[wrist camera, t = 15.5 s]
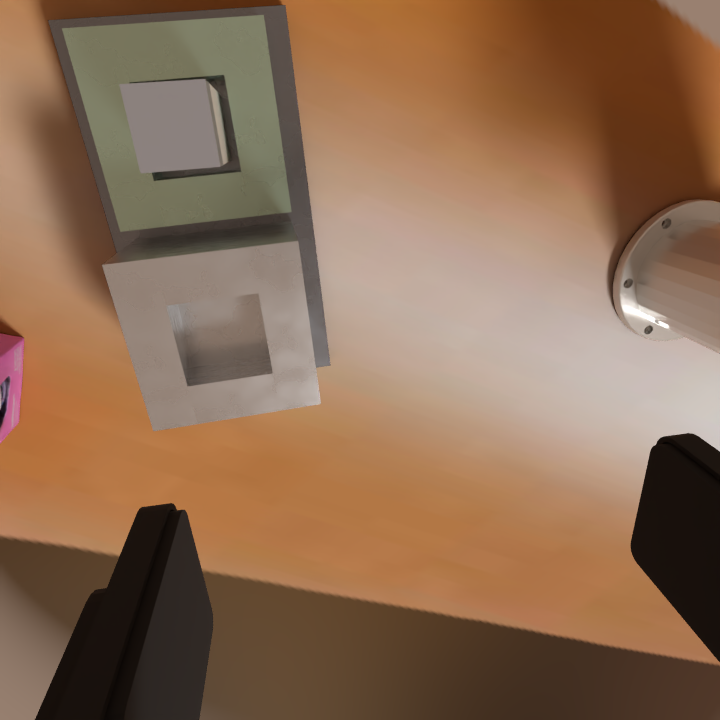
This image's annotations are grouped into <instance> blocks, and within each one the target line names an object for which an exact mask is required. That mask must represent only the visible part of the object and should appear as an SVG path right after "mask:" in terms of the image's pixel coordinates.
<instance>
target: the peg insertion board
mask: <svg viewBox="0 0 720 720" xmlns="http://www.w3.org/2000/svg"><path fill="white" fill-rule="evenodd" d="M48 22H49V25H50V29H51V32H52V35H53V39H54V42H55V46H56V49H57V52H58V56H59V59H60V63H61V66H62V69H63V73H64V76H65V79H66V83H67V86H68V90H69V93H70V96H71V100H72V103H73V107H74V110H75V113H76V117H77V120H78V124H79V127H80V130H81V134H82V137H83V140H84V144H85V147H86V151H87V154H88V157H89V161H90V164H91V168H92V171H93V174H94V178H95V181H96V184H97V188H98V191H99V195H100V198H101V201H102V205H103V208H104V212H105V215H106V218H107V222H108V225H109V228H110V232H111V235H112V239H113V242H114V245H115V249H116V252H117V254H115V255H114V256H113V257H112V258H110V259H109V260H108V261H106V262H105V263H104V264H102V267H103V270H104V274H105V277H106V280H107V283H108V286H109V290H110V293H111V296H112V299H113V302H114V306H115V309H116V312H117V315H118V319H119V322H120V325H121V328H122V331H123V335H124V338H125V341H126V344H127V347H128V351H129V354H130V357H131V360H132V364H133V367H134V370H135V373H136V376H137V380H138V383H139V386H140V389H141V392H142V396H143V399H144V402H145V405H146V409H147V412H148V415H149V418H150V421H151V425H152V428H153V431H158V430H164V429H170V428H177V427H183V426H189V425H195V424H201V423H207V422H213V421H219V420H226V419H232V418H238V417H244V416H250V415H256V414H262V413H268V412H275V411H281V410H287V409H293V408H299V407H305V406H311V405H317V404H321V401H320V394H319V386H318V379H317V372H316V368H317V367H323V366H330V358H329V350H328V342H327V334H326V326H325V318H324V310H323V302H322V294H321V286H320V278H319V270H318V262H317V254H316V246H315V238H314V230H313V222H312V214H311V206H310V198H309V190H308V182H307V174H306V166H305V158H304V150H303V142H302V134H301V126H300V118H299V110H298V102H297V94H296V86H295V78H294V70H293V62H292V54H291V46H290V38H289V30H288V23H287V15H286V7H285V5H278V6H263V7H247V8H232V9H216V10H201V11H185V12H170V13H154V14H139V15H123V16H108V17H92V18H77V19H61V20H48ZM196 79H206V80H207V81H208V82H209V84H210V85H211V86H212V87H213V88H214V89H215V90H216V91H217V92H218V93H219V94H220V97H221V103H222V109H223V115H224V121H225V127H226V133H227V139H228V145H229V151H230V157H231V161H229V162H227V163H226V164H224V165H223V166H221V167H212V168H200V169H188V170H176V171H164V172H152V173H140V169H139V165H138V161H137V157H136V152H135V148H134V144H133V140H132V136H131V132H130V127H129V123H128V119H127V115H126V111H125V107H124V102H123V98H122V94H121V90H120V86H119V84H130V83H147V82H163V81H180V80H196Z"/></svg>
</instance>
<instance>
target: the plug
mask: <svg viewBox="0 0 720 720" xmlns="http://www.w3.org/2000/svg"><path fill="white" fill-rule="evenodd" d="M119 86H120V90H121V94H122V98H123V102H124V107H125V111H126V115H127V119H128V123H129V127H130V132H131V136H132V140H133V144H134V148H135V152H136V157H137V161H138V165H139V169H140V173H152V172H164V171H176V170H188V169H200V168H212V167H221V166H223V165H224V164H226V163H227V162H229V161H231V157H230V151H229V145H228V139H227V133H226V127H225V121H224V115H223V109H222V103H221V97H220V94H219V93H218V92H217V91H216V90H215V89H214V88H213V87H212V86H211V85H210V84H209V82H208V81H207V80H206V79H196V80H180V81H163V82H147V83H130V84H119Z"/></svg>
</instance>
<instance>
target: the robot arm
mask: <svg viewBox="0 0 720 720" xmlns="http://www.w3.org/2000/svg"><path fill="white" fill-rule="evenodd" d="M613 300H614V305H615V309H616V312H617V314H618V316H619V318H620V320H621V321H622V322H623V323H624V325H625V326H626V327H627V328H629V329H630V330H631V331H633V332H634V333H636V334H638V335H640V336H641V337H644V338H646V339H650V340H654V341H671V340H677V339H680V338H683V337H685V338H687V339H689V340H691V341H694V342H696V343H698V344H700V345H702V346H704V347H706V348H708V349H711V350H713V351H715V352H717V353H719V354H720V202H716V201H712V200H701V199H695V200H687V201H683V202H680V203H677V204H674V205H671V206H669V207H667V208H666V209H664V210H662V211H660V212H658V213H657V214H656V215H655V216H653V217H652V218H651V219H649V220H648V221H647V222H646V223H645V224H644V225H643V226H642V227H641V228H640V229H639V230H638V231H637V232H636V233H635V235H634V236H633V237H632V239H631V240H630V242H629V243H628V244H627V246H626V248H625V250H624V252H623V254H622V255H621V257H620V260H619V263H618V265H617V268H616V271H615V276H614V282H613ZM631 552H632V555H633V557H634V559H635V561H636V562H637V564H638V565H639V566H640V567H641V568H642V570H643V571H644V572H645V573H646V574H647V576H648V577H649V578H650V579H651V580H652V582H653V583H654V584H655V585H656V586H657V588H658V589H659V590H660V591H661V592H662V594H663V595H664V596H665V597H666V598H667V600H668V601H669V602H670V603H671V604H672V606H673V607H674V608H675V609H676V610H677V612H678V613H679V614H680V615H681V616H682V618H683V619H684V620H685V621H686V622H687V624H688V625H689V626H690V627H691V628H692V630H693V631H694V632H695V633H696V634H697V636H698V637H699V638H700V639H701V640H702V642H703V643H704V644H705V645H706V646H707V648H708V649H709V650H710V651H711V652H712V654H713V655H714V656H715V657H716V658H717V660H718V661H719V662H720V452H719V451H718V450H717V449H715V448H714V447H712V446H711V445H710V444H708V443H707V442H705V441H704V440H703V439H701V438H700V437H698V436H696V435H694V434H690V433H687V434H680V435H673V436H665V437H662V438H660V439H659V440H658V441H657V444H656V445H655V446H653V447H652V449H651V451H650V456H649V460H648V465H647V470H646V474H645V479H644V484H643V488H642V493H641V498H640V502H639V507H638V512H637V516H636V521H635V526H634V530H633V535H632V540H631ZM212 631H213V613H212V608H211V604H210V600H209V596H208V592H207V588H206V585H205V581H204V577H203V573H202V569H201V565H200V561H199V558H198V554H197V550H196V546H195V542H194V538H193V535H192V531H191V527H190V523H189V519H188V515H187V513H186V511H185V510H177V509H176V507H175V505H174V504H172V503H170V504H162V505H155V506H148V507H142V508H140V509H139V511H138V512H137V515H136V517H135V520H134V522H133V525H132V527H131V529H130V532H129V534H128V537H127V539H126V542H125V544H124V547H123V549H122V552H121V554H120V557H119V559H118V562H117V564H116V567H115V569H114V572H113V574H112V577H111V579H110V582H109V584H108V587H107V588H105V589H98V590H95V591H94V592H93V593H92V594H91V595H90V597H89V598H88V600H87V602H86V604H85V606H84V608H83V611H82V613H81V615H80V618H79V620H78V622H77V624H76V627H75V629H74V631H73V634H72V636H71V638H70V641H69V643H68V645H67V647H66V650H65V652H64V654H63V657H62V659H61V661H60V664H59V666H58V668H57V670H56V673H55V675H54V677H53V680H52V682H51V684H50V687H49V689H48V691H47V693H46V696H45V698H44V700H43V703H42V705H41V707H40V709H39V712H38V714H37V716H36V719H35V720H199V717H200V711H201V704H202V698H203V691H204V684H205V678H206V671H207V665H208V658H209V651H210V645H211V638H212Z"/></svg>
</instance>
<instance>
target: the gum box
mask: <svg viewBox="0 0 720 720" xmlns="http://www.w3.org/2000/svg"><path fill="white" fill-rule="evenodd" d="M23 350H24V338H23V337H17V336H11V335H6V334H1V333H0V443H1V442H2V441H3V440H4V438H5V437H6V436H7V435H8V434H9V433H10V432H11V431H12V430H13V428H14V427H15V426H16V425H17V424H18V422H19V412H20V397H21V390H22V375H23Z"/></svg>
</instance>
